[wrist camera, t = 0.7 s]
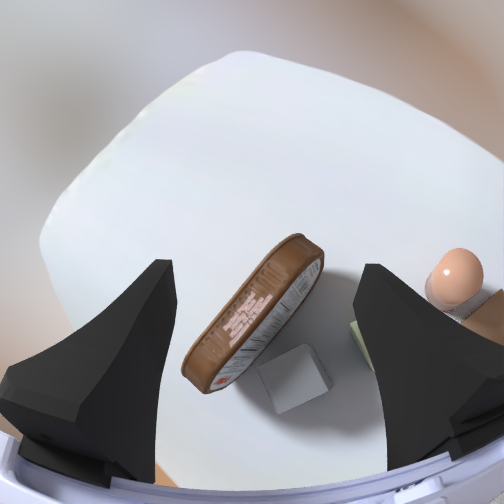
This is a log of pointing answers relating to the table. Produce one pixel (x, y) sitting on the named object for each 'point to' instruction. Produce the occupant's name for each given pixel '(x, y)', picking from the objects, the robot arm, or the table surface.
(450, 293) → the peach rounded capsule
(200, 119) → the table surface
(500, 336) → the walnut board
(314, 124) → the table surface
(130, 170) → the table surface
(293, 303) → the tin
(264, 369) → the grey block
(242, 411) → the table surface
